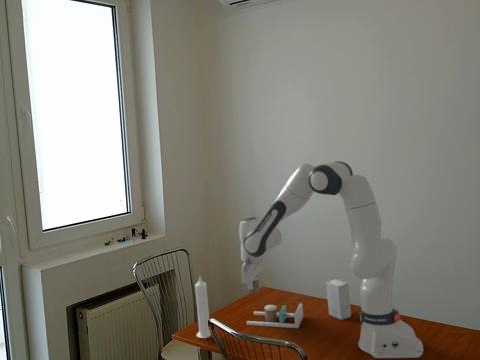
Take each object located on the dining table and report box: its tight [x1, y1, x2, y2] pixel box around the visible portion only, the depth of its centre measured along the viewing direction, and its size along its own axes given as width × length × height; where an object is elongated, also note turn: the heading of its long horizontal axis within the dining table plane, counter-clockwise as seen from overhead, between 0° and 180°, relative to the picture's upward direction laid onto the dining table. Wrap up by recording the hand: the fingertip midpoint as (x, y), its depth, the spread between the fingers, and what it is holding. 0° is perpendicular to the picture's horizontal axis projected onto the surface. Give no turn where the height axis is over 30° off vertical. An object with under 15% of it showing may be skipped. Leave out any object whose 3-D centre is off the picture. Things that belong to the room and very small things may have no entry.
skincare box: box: [325, 278, 352, 321], centre depth 203 cm, size 8×6×15 cm
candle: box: [194, 276, 211, 339], centre depth 193 cm, size 7×7×25 cm
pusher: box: [278, 304, 289, 323], centre depth 202 cm, size 3×8×5 cm, turn 162°
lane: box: [246, 302, 304, 329], centre depth 204 cm, size 22×11×6 cm, turn 72°
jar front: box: [264, 304, 278, 323], centre depth 204 cm, size 5×5×6 cm
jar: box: [246, 275, 260, 294], centre depth 205 cm, size 5×5×6 cm
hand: (253, 286), depth 205 cm, fingers closed on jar, 5 cm apart
